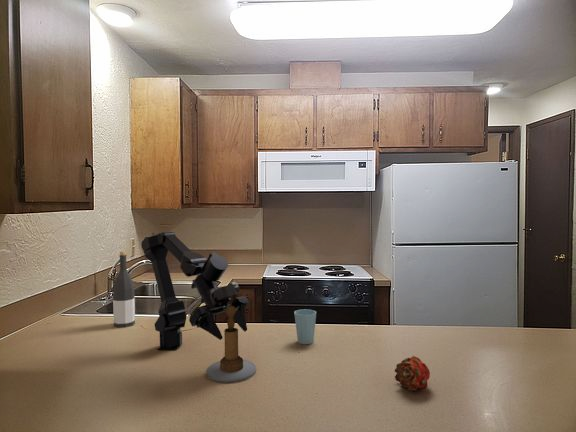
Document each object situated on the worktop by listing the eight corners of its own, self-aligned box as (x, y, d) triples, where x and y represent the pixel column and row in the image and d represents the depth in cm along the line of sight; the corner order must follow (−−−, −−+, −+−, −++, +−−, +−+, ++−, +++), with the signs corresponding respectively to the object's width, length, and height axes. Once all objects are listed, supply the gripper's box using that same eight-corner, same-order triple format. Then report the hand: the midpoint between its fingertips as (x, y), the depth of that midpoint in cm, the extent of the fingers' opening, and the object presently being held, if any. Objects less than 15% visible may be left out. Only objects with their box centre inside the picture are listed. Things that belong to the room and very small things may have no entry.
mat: (200, 382, 107) (200, 378, 107) (213, 362, 121) (213, 358, 121) (252, 383, 107) (252, 379, 106) (258, 362, 120) (258, 359, 120)
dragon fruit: (408, 404, 97) (409, 390, 108) (438, 387, 95) (436, 374, 107) (387, 373, 99) (390, 362, 111) (416, 355, 98) (416, 346, 109)
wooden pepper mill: (232, 374, 110) (231, 309, 109) (215, 369, 113) (214, 306, 113) (247, 366, 115) (246, 304, 115) (231, 361, 119) (230, 302, 118)
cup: (320, 343, 137) (320, 313, 136) (300, 346, 134) (300, 316, 133) (310, 337, 144) (310, 308, 143) (291, 340, 141) (290, 311, 140)
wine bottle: (109, 326, 159) (107, 252, 158) (123, 321, 167) (121, 250, 166) (126, 328, 157) (124, 252, 156) (139, 322, 164) (137, 250, 164)
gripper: (194, 278, 109) (220, 326, 102) (244, 270, 123) (271, 311, 116) (178, 303, 114) (202, 349, 107) (228, 291, 128) (252, 332, 121)
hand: (234, 334), depth 113 cm, fingers open, 9 cm apart
